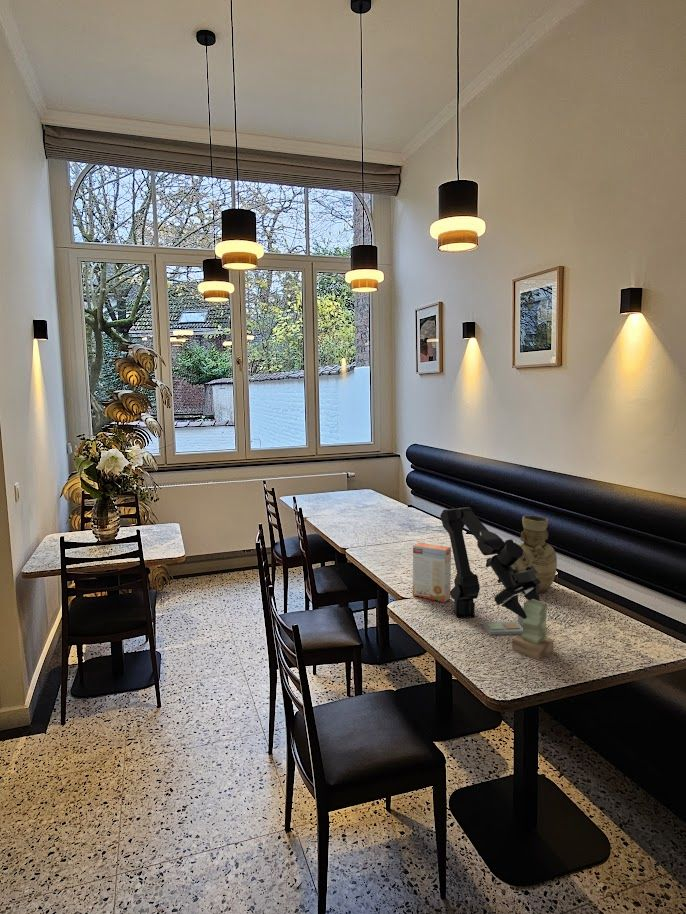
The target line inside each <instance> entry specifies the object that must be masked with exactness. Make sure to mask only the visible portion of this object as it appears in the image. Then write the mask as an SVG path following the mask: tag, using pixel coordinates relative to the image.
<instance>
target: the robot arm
mask: <svg viewBox="0 0 686 914" xmlns="http://www.w3.org/2000/svg"><path fill="white" fill-rule="evenodd" d="M439 518H440V521H441V524H442V528H444V530H445V531H446V532H447V533H448V535H449V539H450V545H451V551H452V554H453V559H454V565H455V568H456V575H455V577H454V580H453V581H454V582H453V583H454V586H453V587H452V589H450V599H453V600H454V601H453V602H454V604H453V605H454V606H453V608H454V609H452V612H453V614H454V615H455V617H456V618H459V619H460V618H475V609H476V607H475V606H476V603H475V602H474V599H478V597H479V594H480V589H481V587H480V586H481V584H480V582H479V577H478V574H476V573H475V574H474V573H473V571H472V570H471V566H470V560H469V556H468V553H467V552H468V551H467V547H466V542H465V538H464V533H463V532H464V531H463V530H464V528H465V526H466V529H468V530H469V532H470V533H471V534H472V536H473V537H474V538H475V539H476V540H477V547H478V549H479V551H480V552H481V554H482V555H483V556H485V557H486V556H492V557H489V558H486V563H485V568H489V567H490V568H491V570H492V571H493V572H494V574H495V575H496V577H497V578H498V579H497V580H496V582H497V583H498V584H502V585H503V587H504V589H503V590H501V591H500V592H499V593H498V594H496V595H494V602H495V603H496V604H497V606H500V605H501V607H502V608H503V607H504V608H506V609H507V610H509V611H510V612H513V613H514V614H516V615H517V616H518V615H519V616H520V617H522V618H523V619H526V618H527V616H526V614H525V612H524V610H523V609H522V605H521V603H520V601H519V594H520V593H521V594H524V595H523V597H524V598H525V599H526V600H527V601H529V600H531V599H535V600H538V601H541V598H540V595H539V594H540V593H538V591H539V588H540V584H541V582H540V581H539V579H538V578H536V575H537V571H536V569H535V568H534V567H533V566H528V567H526V570H525V571H522V572H520V571H519V570H518V569H513V567H512V566H511V565H513V564H514V563H515V562H516V561H517V560H518V559H519V558H521V557H522V555H523V549H522V548H521V547H520V546H519V545H520V544H518V543H517V542H514V540H513V539H512V538H511V539H506V540H505V541H504V540H503V539H502V537H500V536H499V535H498V534H496V533H494V532H492V531H490V530H488V529H487V527H486V526H485V525H484V524H483V522H482V521H481V520H480V519H479V518H478V517H477V515H475V513H474V511H473V509H472V508H471V507H469V506H468V507H458V508H448V509H443V510H442V512H441V513H440V516H439ZM538 585H539V586H538Z"/></svg>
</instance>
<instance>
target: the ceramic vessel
mask: <svg viewBox="0 0 686 914" xmlns="http://www.w3.org/2000/svg"><path fill="white" fill-rule="evenodd" d="M521 520H522V521H521V522H522V527H523V531H521V533H520V538H519V539H520V541H521V542H523V543H520V544H518V545H519V546H520V547H521V548H522V549H523V555H522V557H521V558H519V559H518V560H517V561H516V562H515V563H514V564H513V565H511V566H512V567H513V569H518V570H519V571H520V572H522V571H525V570H526V567H528V566H533V567H534V568H535V569H536V571H537V575H536V578H538V579H539V581H540V582H541V584H540V588H539V591H538V594H541V593H545V592H547V591H548V590H549V589H550V588H551V586H552V584H553V583H554V580H555V577H556V575H557V574H556V573H557V566H558V557H557V553H556V551H555V549H554V547H553V546H551V545H550V544H549V543H547V542H546V541H547V540H548V538H549V532H548V531H549V530H547V528H548V524H549V519H548V518H546V517H543V516H539V515H523V516H522V519H521ZM538 586H539V585H538Z"/></svg>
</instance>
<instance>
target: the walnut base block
mask: <svg viewBox="0 0 686 914" xmlns="http://www.w3.org/2000/svg"><path fill="white" fill-rule="evenodd" d="M522 637H523V634H518V635H516V636H515V637H513V638H512V640H511V642H512V643H511V644H512V645H511V646H512V647H511V650H512V651H515V652H517V653H520V654H523V655H525V656H526V657H527V656H528V657H530V658H533V659H535V660H539V659H541V658H543V657H544V656H546V655H548V654H550V653H552V652H554V642H555V640H554V639H552V638H550V637H546V638H545V640H544V641H542V642H540V643H538V644H534V643H531V642H529V641H526V640H523V639H522Z"/></svg>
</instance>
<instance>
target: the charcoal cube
mask: <svg viewBox="0 0 686 914" xmlns="http://www.w3.org/2000/svg"><path fill="white" fill-rule="evenodd" d="M521 607H522V606H521ZM522 609H523V610H524V606H523V607H522ZM517 623H518V624H519V625H520V626H521V627H522V628H523V618H522V617H520V616H519V615H517Z"/></svg>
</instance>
